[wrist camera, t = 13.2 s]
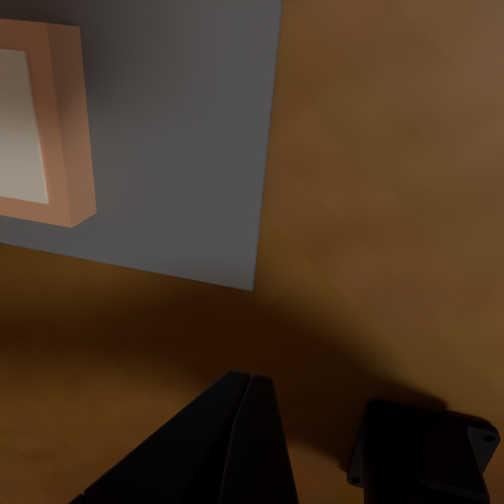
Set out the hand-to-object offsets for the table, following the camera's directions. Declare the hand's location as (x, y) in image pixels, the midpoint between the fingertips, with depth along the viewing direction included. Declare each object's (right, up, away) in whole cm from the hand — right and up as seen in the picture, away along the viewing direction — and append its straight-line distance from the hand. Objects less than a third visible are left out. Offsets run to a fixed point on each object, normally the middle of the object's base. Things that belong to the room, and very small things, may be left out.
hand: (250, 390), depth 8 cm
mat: (-7, +9, +10) cm, 15 cm away
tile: (-7, +8, +9) cm, 14 cm away
